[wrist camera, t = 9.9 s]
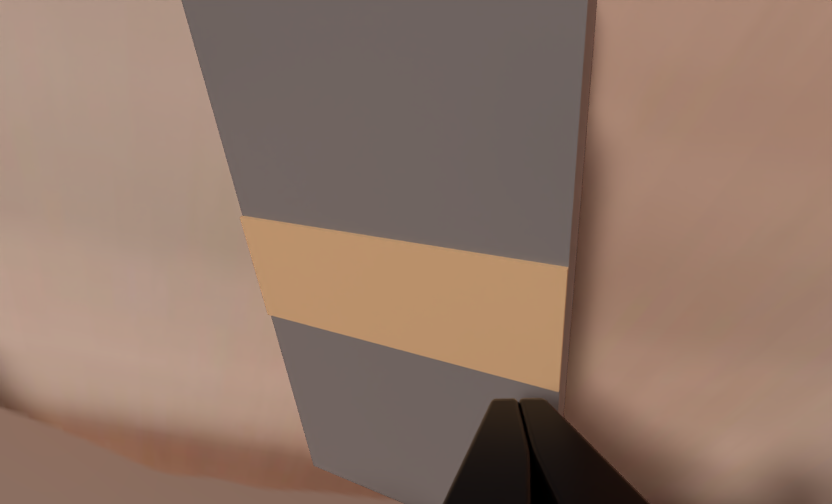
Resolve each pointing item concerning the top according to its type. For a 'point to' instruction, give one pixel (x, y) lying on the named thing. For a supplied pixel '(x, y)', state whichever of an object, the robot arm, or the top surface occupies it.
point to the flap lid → (406, 211)
